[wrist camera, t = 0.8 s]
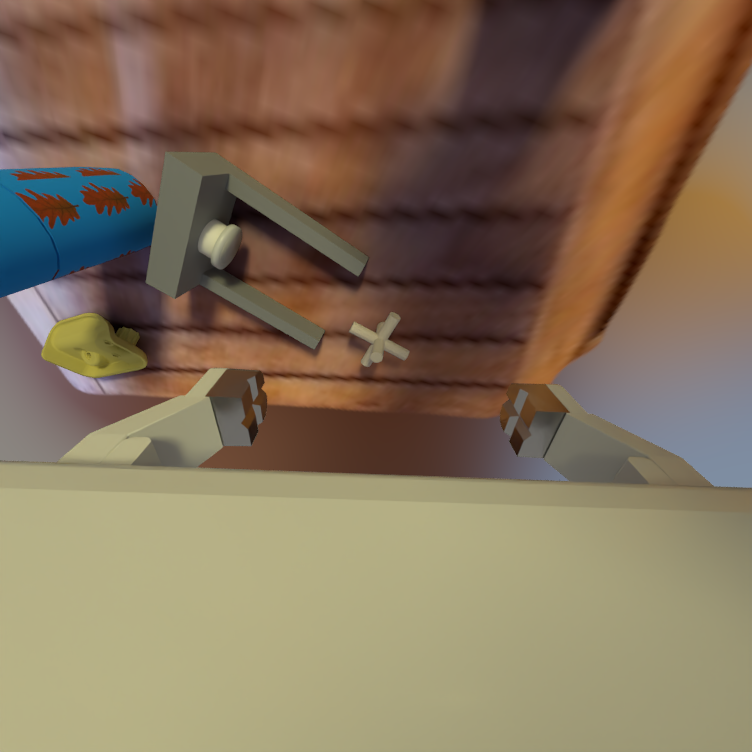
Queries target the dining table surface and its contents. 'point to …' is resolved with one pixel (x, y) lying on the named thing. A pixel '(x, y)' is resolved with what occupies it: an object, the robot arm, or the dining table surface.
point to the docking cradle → (216, 201)
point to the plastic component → (93, 347)
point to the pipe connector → (379, 340)
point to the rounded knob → (220, 242)
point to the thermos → (68, 222)
